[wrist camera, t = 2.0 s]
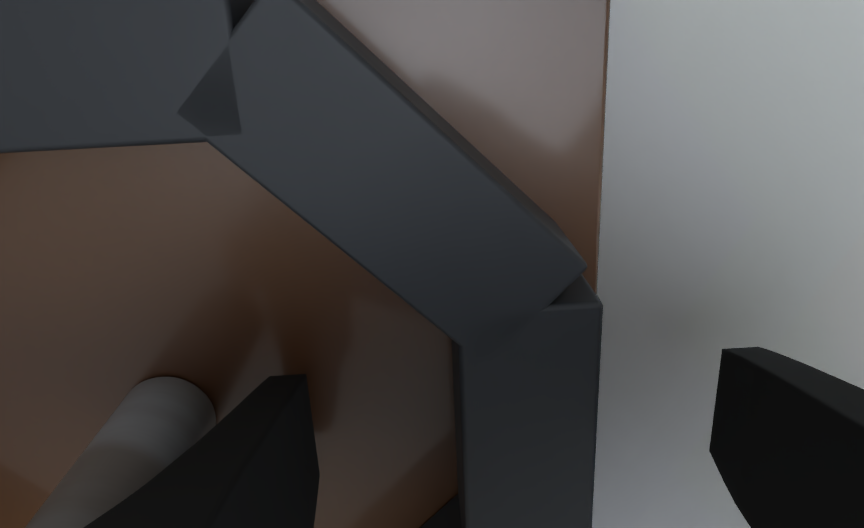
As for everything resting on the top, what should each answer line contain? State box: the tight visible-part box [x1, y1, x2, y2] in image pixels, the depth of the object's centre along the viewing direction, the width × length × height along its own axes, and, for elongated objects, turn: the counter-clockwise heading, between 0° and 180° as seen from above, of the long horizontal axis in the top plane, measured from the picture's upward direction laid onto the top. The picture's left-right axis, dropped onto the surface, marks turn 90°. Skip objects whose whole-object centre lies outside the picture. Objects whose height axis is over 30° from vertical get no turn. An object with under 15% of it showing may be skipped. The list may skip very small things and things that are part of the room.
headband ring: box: [0, 0, 603, 528], centre depth 10 cm, size 14×14×2 cm
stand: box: [0, 0, 610, 528], centre depth 10 cm, size 15×15×6 cm
